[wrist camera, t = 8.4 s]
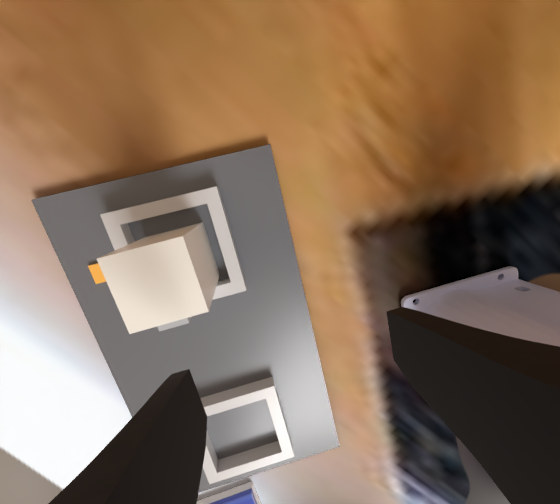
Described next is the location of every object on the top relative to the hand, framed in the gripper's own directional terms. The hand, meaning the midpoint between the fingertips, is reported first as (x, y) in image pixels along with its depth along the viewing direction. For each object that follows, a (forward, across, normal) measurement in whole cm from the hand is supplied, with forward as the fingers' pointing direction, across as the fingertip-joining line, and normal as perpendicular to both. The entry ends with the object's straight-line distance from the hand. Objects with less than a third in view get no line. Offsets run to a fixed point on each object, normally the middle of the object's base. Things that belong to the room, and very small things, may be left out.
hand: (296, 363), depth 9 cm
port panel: (+9, +5, +4) cm, 11 cm away
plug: (+9, +5, -3) cm, 11 cm away
